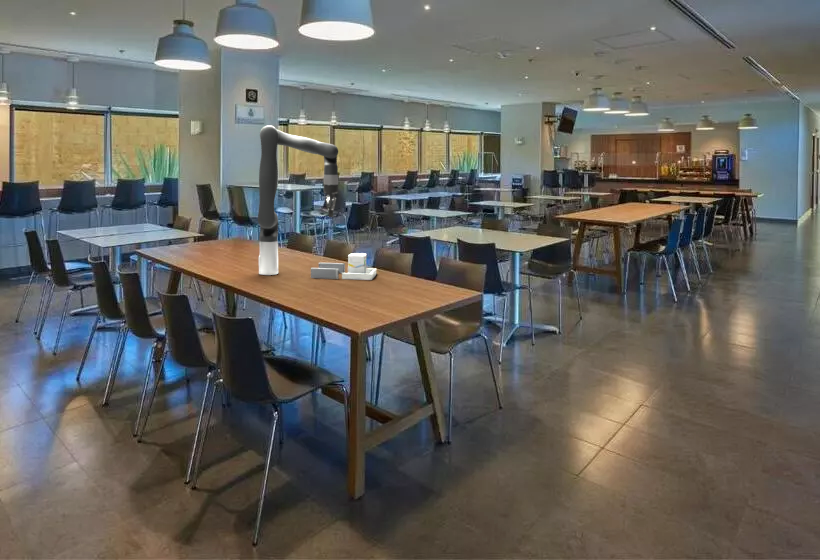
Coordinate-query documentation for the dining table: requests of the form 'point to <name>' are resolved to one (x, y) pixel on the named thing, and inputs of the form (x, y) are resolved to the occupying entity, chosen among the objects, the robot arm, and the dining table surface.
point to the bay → (328, 270)
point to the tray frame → (360, 275)
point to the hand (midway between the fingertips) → (330, 216)
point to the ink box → (357, 263)
